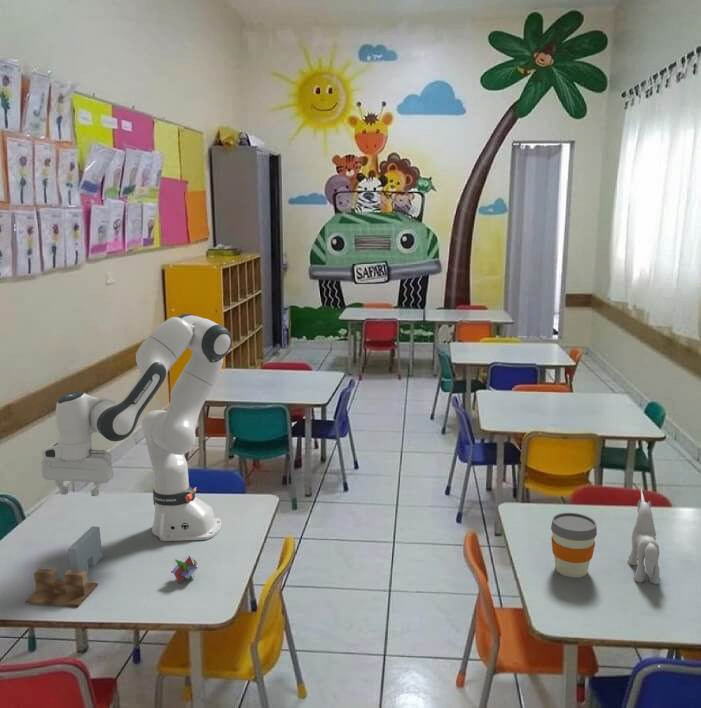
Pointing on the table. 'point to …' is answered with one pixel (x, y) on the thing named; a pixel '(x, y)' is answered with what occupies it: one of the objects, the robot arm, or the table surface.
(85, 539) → the slotted plate
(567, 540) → the reusable coffee cup
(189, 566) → the geometric puzzle
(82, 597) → the jig
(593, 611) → the table surface
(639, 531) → the unicorn
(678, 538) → the table surface
